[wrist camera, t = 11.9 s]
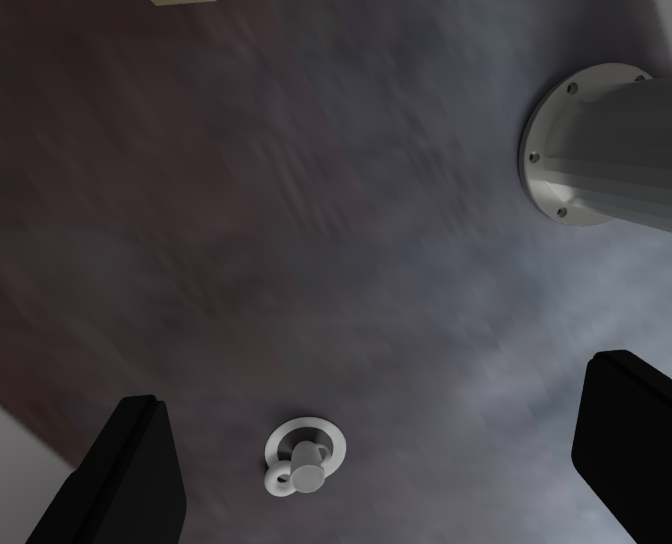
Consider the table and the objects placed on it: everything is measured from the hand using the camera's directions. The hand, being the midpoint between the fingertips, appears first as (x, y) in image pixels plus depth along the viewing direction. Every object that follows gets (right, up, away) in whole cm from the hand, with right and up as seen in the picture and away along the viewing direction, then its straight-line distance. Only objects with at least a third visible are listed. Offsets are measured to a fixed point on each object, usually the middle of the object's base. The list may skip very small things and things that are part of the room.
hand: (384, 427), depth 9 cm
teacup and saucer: (-7, -13, +32) cm, 35 cm away
